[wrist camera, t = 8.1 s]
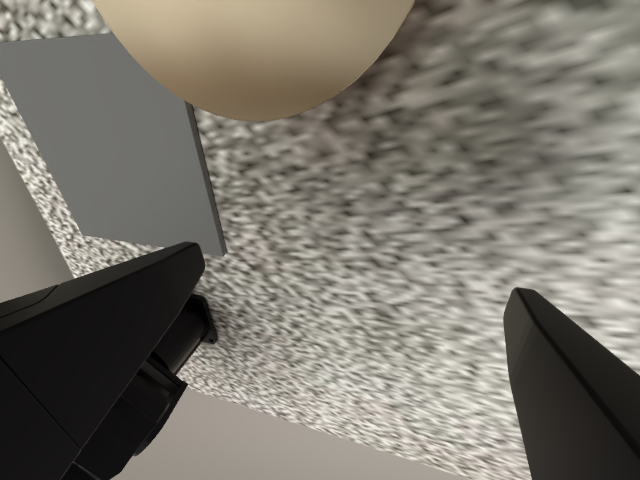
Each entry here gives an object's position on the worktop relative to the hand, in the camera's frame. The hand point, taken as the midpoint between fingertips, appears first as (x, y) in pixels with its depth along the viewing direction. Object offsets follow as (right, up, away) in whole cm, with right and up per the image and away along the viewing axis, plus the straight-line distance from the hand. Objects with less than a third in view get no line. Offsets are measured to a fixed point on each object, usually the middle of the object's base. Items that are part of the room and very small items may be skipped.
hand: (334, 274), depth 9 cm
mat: (-16, +8, +16) cm, 24 cm away
